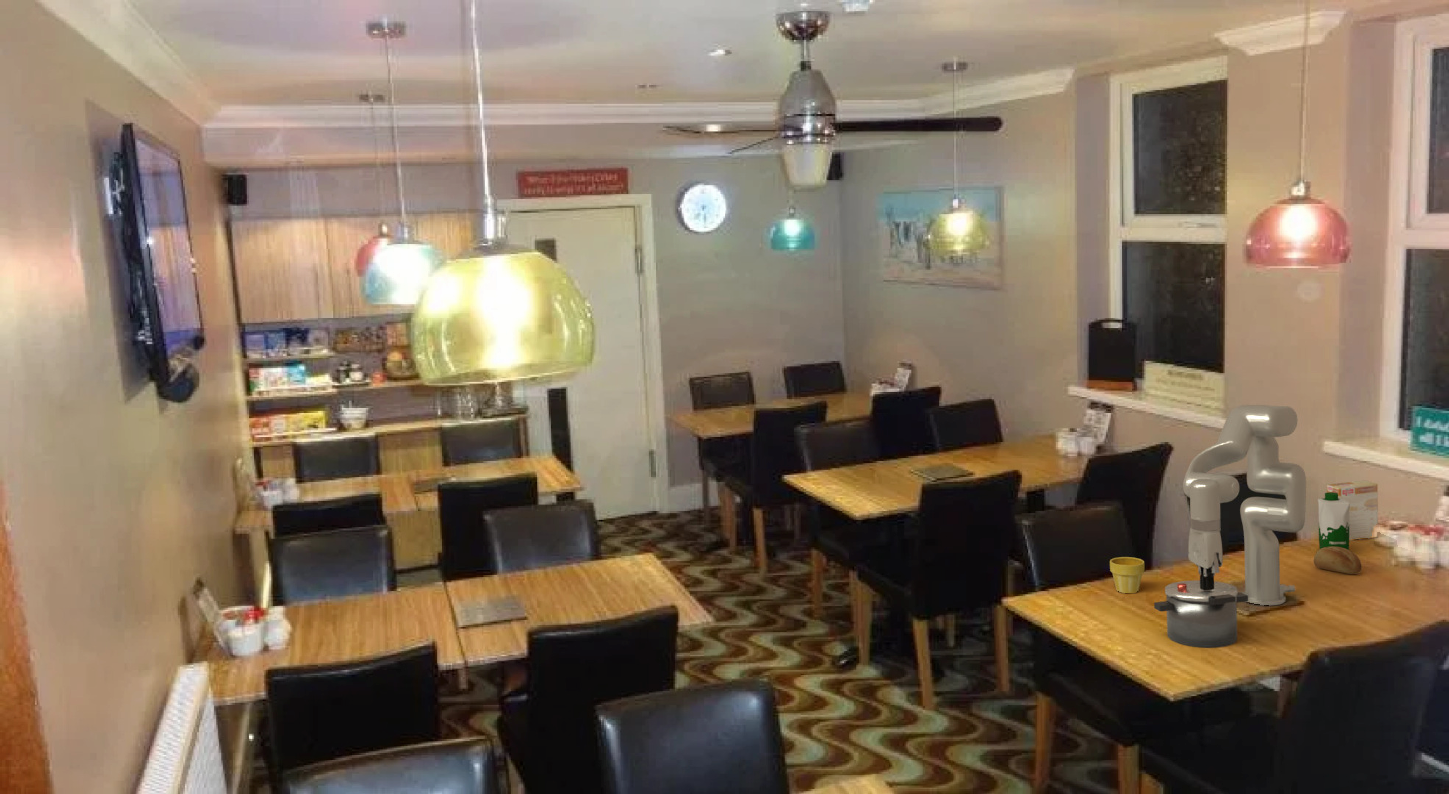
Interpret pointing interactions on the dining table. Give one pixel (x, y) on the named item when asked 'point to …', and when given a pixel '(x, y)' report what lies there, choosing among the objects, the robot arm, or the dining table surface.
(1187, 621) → the pressure cooker
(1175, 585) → the cooker lid
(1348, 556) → the bread roll
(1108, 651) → the dining table surface
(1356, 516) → the coffeecake box
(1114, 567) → the plant pot
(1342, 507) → the milk carton
